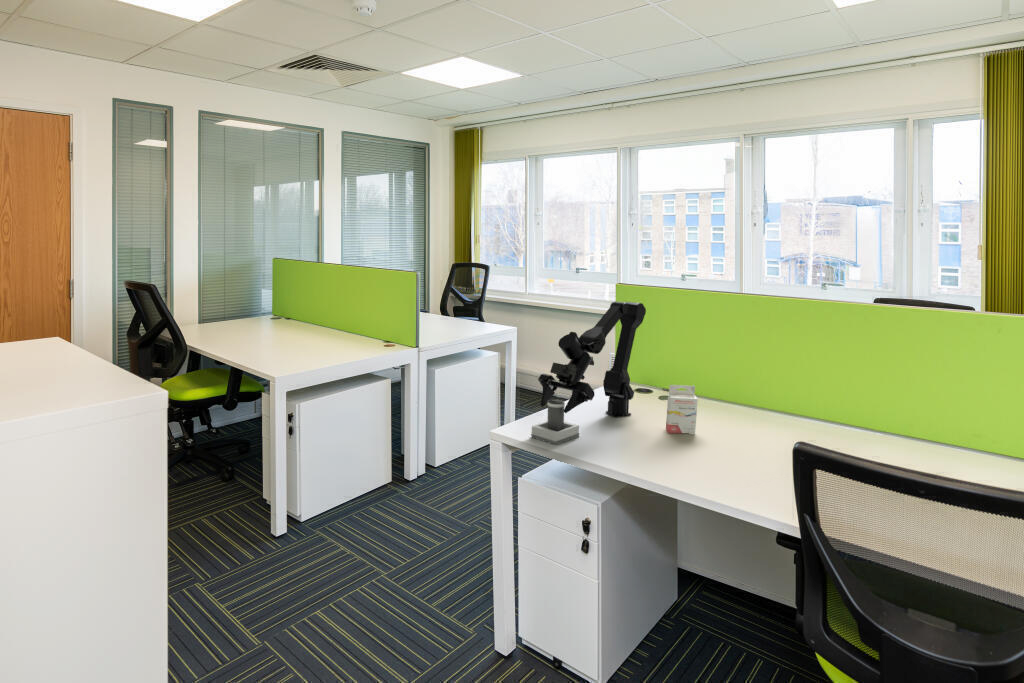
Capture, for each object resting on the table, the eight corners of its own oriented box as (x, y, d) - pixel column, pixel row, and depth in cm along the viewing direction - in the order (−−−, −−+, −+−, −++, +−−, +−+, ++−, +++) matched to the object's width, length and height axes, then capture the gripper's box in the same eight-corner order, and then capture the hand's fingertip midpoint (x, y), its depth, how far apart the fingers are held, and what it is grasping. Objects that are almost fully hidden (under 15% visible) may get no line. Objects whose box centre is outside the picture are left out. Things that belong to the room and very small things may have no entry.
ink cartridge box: (667, 433, 193) (670, 388, 191) (665, 428, 198) (668, 384, 195) (695, 434, 192) (698, 389, 190) (692, 429, 197) (695, 385, 195)
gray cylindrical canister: (562, 430, 192) (563, 399, 190) (565, 436, 187) (565, 404, 185) (545, 430, 191) (546, 399, 189) (548, 436, 186) (548, 404, 184)
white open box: (554, 429, 196) (554, 418, 196) (579, 436, 190) (579, 425, 189) (531, 437, 189) (531, 426, 188) (556, 444, 182) (556, 433, 181)
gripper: (542, 348, 194) (517, 388, 188) (590, 357, 181) (565, 400, 175) (557, 369, 201) (534, 408, 195) (604, 378, 188) (581, 421, 182)
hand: (552, 409), depth 186 cm, fingers open, 9 cm apart
